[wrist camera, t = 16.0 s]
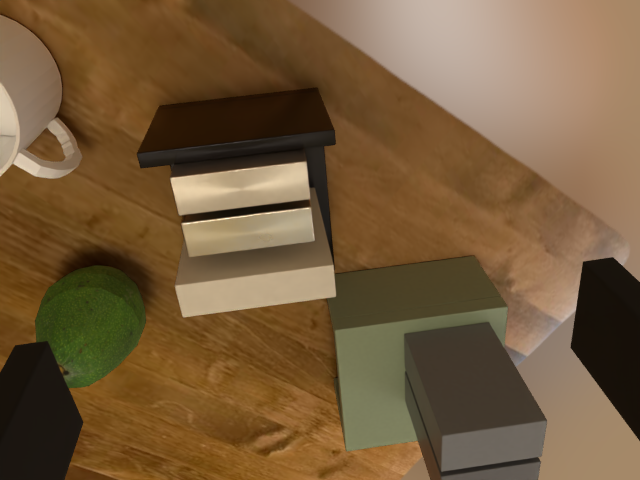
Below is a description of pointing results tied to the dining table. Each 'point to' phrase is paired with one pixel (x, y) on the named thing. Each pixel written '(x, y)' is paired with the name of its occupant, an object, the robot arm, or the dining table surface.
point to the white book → (257, 275)
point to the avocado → (91, 322)
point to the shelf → (382, 336)
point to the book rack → (244, 168)
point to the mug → (30, 103)
